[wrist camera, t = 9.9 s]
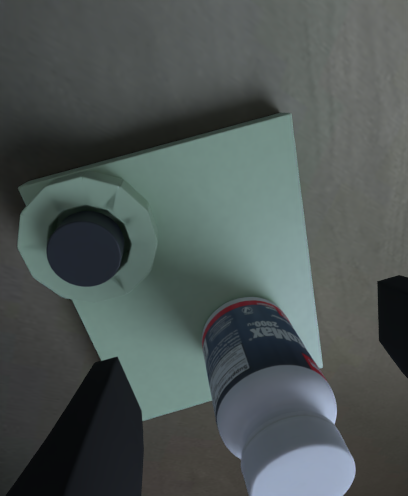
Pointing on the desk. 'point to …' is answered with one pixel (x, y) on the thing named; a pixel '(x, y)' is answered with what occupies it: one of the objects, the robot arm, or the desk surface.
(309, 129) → the desk surface
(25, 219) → the green flat slab
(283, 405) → the pill bottle
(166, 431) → the desk surface
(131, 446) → the robot arm
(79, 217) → the button
